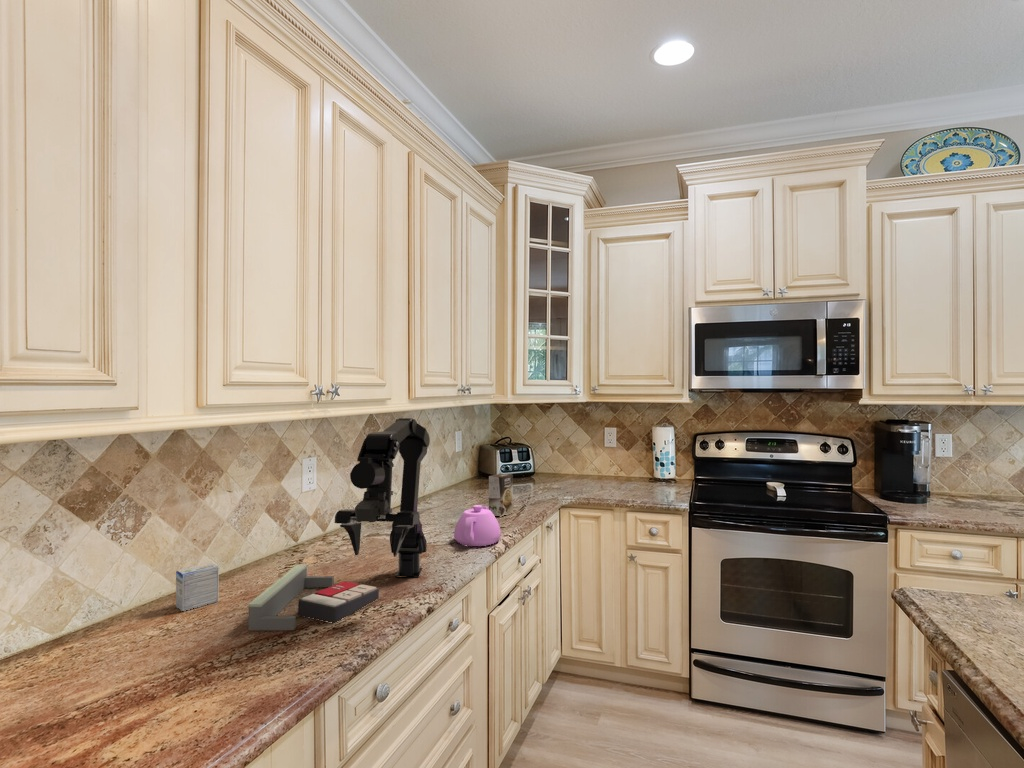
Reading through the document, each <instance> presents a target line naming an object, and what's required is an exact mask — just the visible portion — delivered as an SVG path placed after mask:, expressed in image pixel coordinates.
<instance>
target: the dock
mask: <svg viewBox="0 0 1024 768" xmlns="http://www.w3.org/2000/svg"><path fill="white" fill-rule="evenodd" d="M307 571H308V565H307V564H296V565H294V567H292V568H291V569H289V570H288V571H287V572H286V573H284V574H283V575H282V576H281V577H280V578H279V579H277V580H276V581H275V582H274V583H272V584H271V585H269V587H268V588H267V589H265V590H264V591H262V593H260V594H259V595H258V596H256V597H255V598H254V599H253V600H251V601H250V602H249V603H248V604H247V606H248V623H247V624H248V631H295V630H296V628H297V616H296V615H278V614H279V613H280V612H281V611H283V609H284V608H285V607H287V605H289V604H290V603H291V602H292V601H293V600H294V597H295V598H296V597H297V596H298V595H299V594H300V593H301V592H302V591H303V590H304V589H307V588H308V589H309V588H310V589H313V588H314V587H315V589H317V588H318V589H319V587H320V589H322V588H321V587H331V586H333V585H335V584H334V583H335V577H334V576H333V575H332V576H331V575H329V576H328V575H323V576H322V575H317V576H316V575H315V576H309V575H308V574H307ZM307 575H308V576H307ZM292 599H293V600H292ZM291 600H292V601H291ZM290 601H291V602H290Z"/></svg>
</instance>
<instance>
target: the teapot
mask: <svg viewBox="0 0 1024 768" xmlns="http://www.w3.org/2000/svg"><path fill="white" fill-rule="evenodd" d="M453 537H454V540H455V541H456V542H457V543H458V544H459V543H460V544H463V545H467V546H466V547H468V546H485V545H490V546H492V545H491V544H493V545H495V544H497V542H498V541H499V540H500V538H501V537H502V531H501V526H500V524H499V521H498V519H497V517H495V516H494V514H493V513H492V512H491V511H490V510H489V506H486V505H485V506H483V505H480V504H474V505H472V508H469V509H467V510H464V511H463V512H462V513H461V515H460V517H459V519H458V520H457V522H456V524H455V527H454V531H453ZM494 543H495V544H494ZM463 545H462V546H463ZM485 547H486V546H485Z"/></svg>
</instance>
